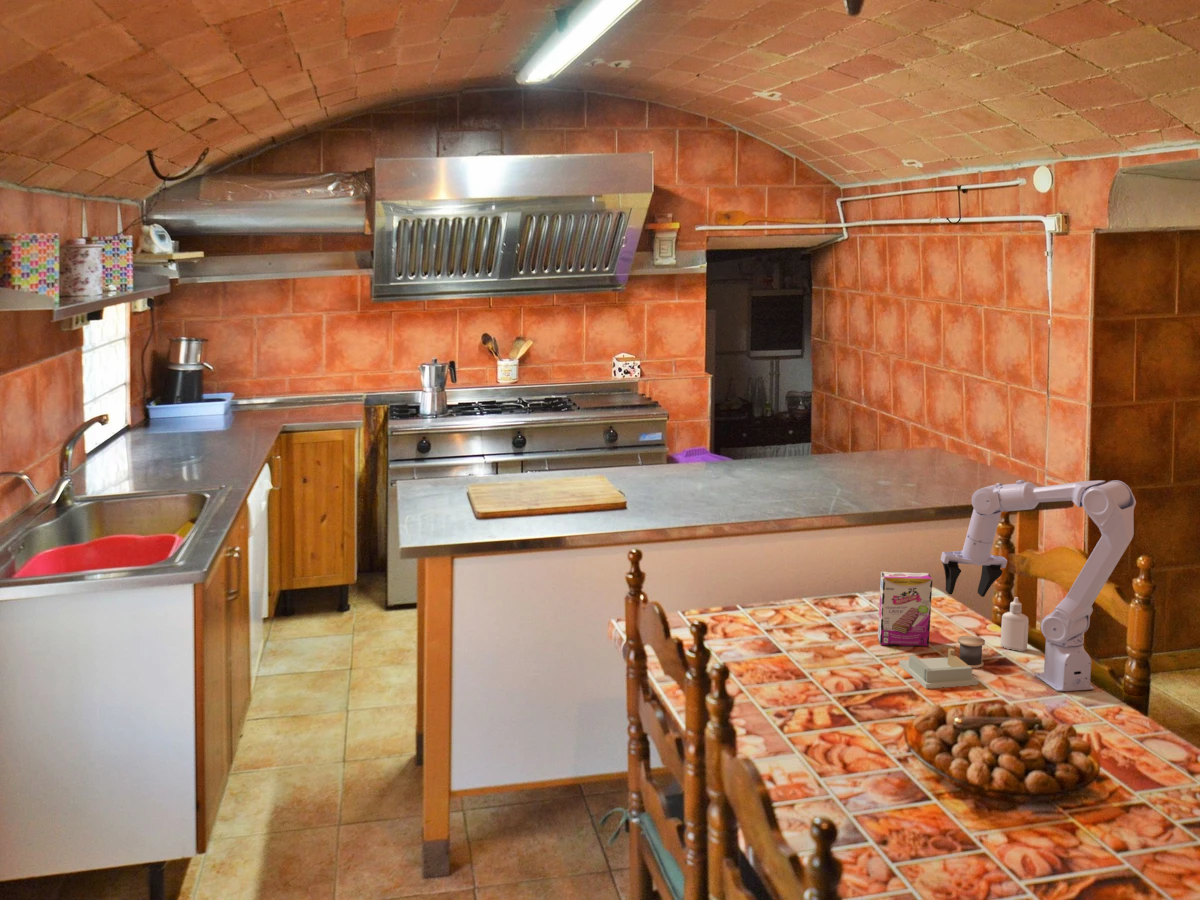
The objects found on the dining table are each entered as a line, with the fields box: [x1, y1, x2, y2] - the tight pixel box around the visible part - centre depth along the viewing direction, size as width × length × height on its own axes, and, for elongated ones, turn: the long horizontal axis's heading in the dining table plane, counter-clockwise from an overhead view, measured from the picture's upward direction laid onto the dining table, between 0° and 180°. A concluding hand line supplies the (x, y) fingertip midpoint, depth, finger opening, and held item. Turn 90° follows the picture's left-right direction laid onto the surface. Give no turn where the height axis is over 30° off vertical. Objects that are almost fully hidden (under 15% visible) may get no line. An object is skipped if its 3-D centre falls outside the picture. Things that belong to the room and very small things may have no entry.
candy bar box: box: [877, 571, 933, 647], centre depth 259 cm, size 11×5×16 cm, turn 84°
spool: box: [957, 635, 986, 669], centre depth 247 cm, size 6×6×6 cm
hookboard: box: [898, 648, 980, 690], centre depth 240 cm, size 14×12×4 cm
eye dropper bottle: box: [999, 596, 1029, 652], centre depth 255 cm, size 4×6×12 cm
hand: (964, 593), depth 250 cm, fingers open, 7 cm apart
